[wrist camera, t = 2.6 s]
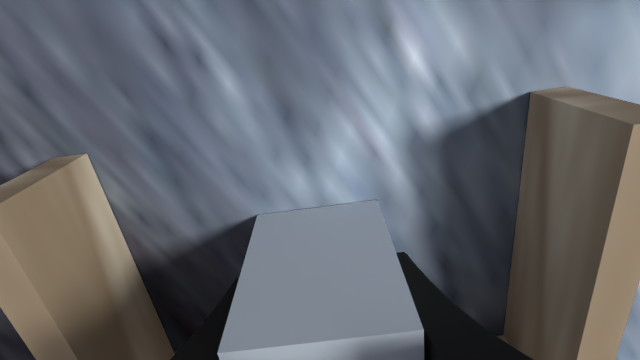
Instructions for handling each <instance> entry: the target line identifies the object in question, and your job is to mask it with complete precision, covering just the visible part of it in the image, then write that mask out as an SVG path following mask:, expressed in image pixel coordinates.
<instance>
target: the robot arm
mask: <svg viewBox="0 0 640 360" xmlns="http://www.w3.org/2000/svg"><path fill="white" fill-rule="evenodd" d="M396 254H397V257H398V260H399V263H400V265H401V268H402V271H403V274H404V276H405V279H406V282H407V285H408V287H409V290H410V293H411V296H412V299H413V301H414V304H415V307H416V310H417V312H418V315H419V318H420V321H421V324H422V326H423V329H424V360H534V359H532V358H530V357H528V356H527V355H525V354H523V353H522V352H520V351H519V350H517V349H515V348H514V347H512V346H511V345H509V344H508V343H506V342H504V341H503V340H501V339H500V338H498V337H497V336H495V335H494V334H492V333H491V332H490V331H488V330H487V329H485V328H484V327H483V326H481V325H480V324H479V323H477V322H476V321H475V320H474V319H472V318H471V317H470V316H469V315H467V314H466V313H465V312H464V311H462V310H461V309H460V308H459V307H458V306H457V305H456V304H454V303H453V302H452V301H451V300H450V299H449V298H448V297H447V296H446V295H444V294H443V293H442V292H441V291H440V290H439V289H438V288H437V287H436V286H435V285H434V284H433V283H432V282H431V281H430V280H429V279H428V278H427V277H426V276H425V275H424V273H423V272H422V271H421V270H420V269H419V268H418V267H417V266H416V265H415V263H414V262H413V261H412V260H411V259H410V257H409V256H408V255H407V254H406V253H404V252H400V253H396ZM239 277H240V275H239V276H238V278H237V279H236V280H235V282H234V283H233V284H232V286H231V287H230V289H229V290H228V291H227V293H226V294H225V295H224V297H223V298H222V299H221V301H220V302H219V303H218V305H217V306H216V307H215V309H214V310H213V311H212V312H211V314H210V315H209V316H208V318H207V319H206V320H205V321H204V323H203V324H202V325H201V326H200V327H199V328H198V330H197V331H196V332H195V333H194V334H193V335H192V337H191V338H190V339H189V340H188V341H187V342H186V343H185V344H184V346H183V347H182V348H181V349H180V350H179V351H178V352H177V353H176V354H175V355H174V356H173V357H172V358H171V359H170V360H220V359H219V357H218V354H217V353H218V349H219V346H220V342H221V339H222V336H223V332H224V329H225V325H226V322H227V318H228V315H229V311H230V308H231V304H232V301H233V298H234V294H235V291H236V287H237V284H238V280H239Z"/></svg>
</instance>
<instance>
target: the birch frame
mask: <svg viewBox="0 0 640 360" xmlns="http://www.w3.org/2000/svg"><path fill="white" fill-rule="evenodd" d="M639 281H640V105H639V104H635V103H631V102H627V101H623V100H619V99H615V98H611V97H607V96H603V95H599V94H595V93H591V92H587V91H583V90H579V89H575V88H571V87H563V88H556V89H548V90H541V91H534V92H531V94H530V103H529V112H528V120H527V129H526V138H525V147H524V156H523V165H522V174H521V183H520V192H519V201H518V209H517V218H516V227H515V236H514V245H513V254H512V263H511V272H510V281H509V289H508V298H507V307H506V316H505V325H504V334H503V335H498V336H497V337H498V338H500V339H501V340H503V341H504V342H506V343H508V344H509V345H511V346H512V347H514V348H515V349H517V350H519V351H520V352H522V353H523V354H525V355H527V356H528V357H530V358H532V359H534V360H615V359H616V355H617V352H618V349H619V346H620V342H621V339H622V336H623V333H624V329H625V326H626V323H627V320H628V316H629V313H630V310H631V307H632V303H633V300H634V297H635V294H636V290H637V287H638V284H639ZM0 307H1V309H2V310H3V312H4V313H5V315H6V316H7V318H8V319H9V320H10V322H11V323H12V325H13V326H14V328H15V329H16V331H17V332H18V334H19V335H20V337H21V338H22V340H23V341H24V343H25V344H26V346H27V347H28V348H29V350H30V351H31V353H32V354H33V356H34V357H35V359H36V360H170V359H171V358H172V357H173V356H174V355H175V353H174V351H173V349H172V347H171V344H170V342H169V340H168V337H167V335H166V333H165V331H164V328H163V326H162V324H161V322H160V319H159V317H158V315H157V312H156V310H155V308H154V306H153V303H152V301H151V299H150V296H149V294H148V292H147V290H146V287H145V285H144V283H143V281H142V278H141V276H140V274H139V271H138V269H137V267H136V265H135V262H134V260H133V258H132V255H131V253H130V251H129V249H128V246H127V244H126V242H125V239H124V237H123V235H122V233H121V230H120V228H119V226H118V224H117V221H116V219H115V217H114V214H113V212H112V210H111V208H110V205H109V203H108V201H107V198H106V196H105V194H104V192H103V189H102V187H101V185H100V183H99V180H98V178H97V176H96V173H95V171H94V169H93V167H92V164H91V162H90V160H89V157H88V155H87V153H86V154H79V155H72V156H64V157H57V158H52V159H50V160H48V161H46V162H45V163H43V164H41V165H39V166H37V167H35V168H33V169H31V170H29V171H27V172H25V173H23V174H21V175H20V176H18V177H16V178H14V179H12V180H10V181H8V182H6V183H4V184H2V185H0Z"/></svg>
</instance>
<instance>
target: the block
mask: <svg viewBox="0 0 640 360" xmlns="http://www.w3.org/2000/svg"><path fill="white" fill-rule="evenodd" d="M217 354H218V357H219V359H220V360H424V329H423V326H422V324H421V321H420V318H419V315H418V312H417V310H416V307H415V304H414V301H413V299H412V296H411V293H410V290H409V287H408V285H407V282H406V279H405V276H404V274H403V271H402V268H401V265H400V263H399V260H398V257H397V254H396V251H395V249H394V246H393V243H392V240H391V238H390V235H389V232H388V229H387V226H386V224H385V221H384V218H383V215H382V213H381V210H380V207H379V204H378V202H377V200H371V201H363V202H355V203H348V204H340V205H332V206H324V207H317V208H309V209H301V210H293V211H285V212H278V213H270V214H262V215H257V218H256V222H255V225H254V228H253V232H252V235H251V239H250V242H249V246H248V249H247V253H246V256H245V260H244V263H243V266H242V270H241V273H240V277H239V280H238V284H237V287H236V291H235V294H234V298H233V301H232V304H231V308H230V311H229V315H228V318H227V322H226V325H225V329H224V332H223V336H222V339H221V342H220V346H219V349H218V353H217Z"/></svg>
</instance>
